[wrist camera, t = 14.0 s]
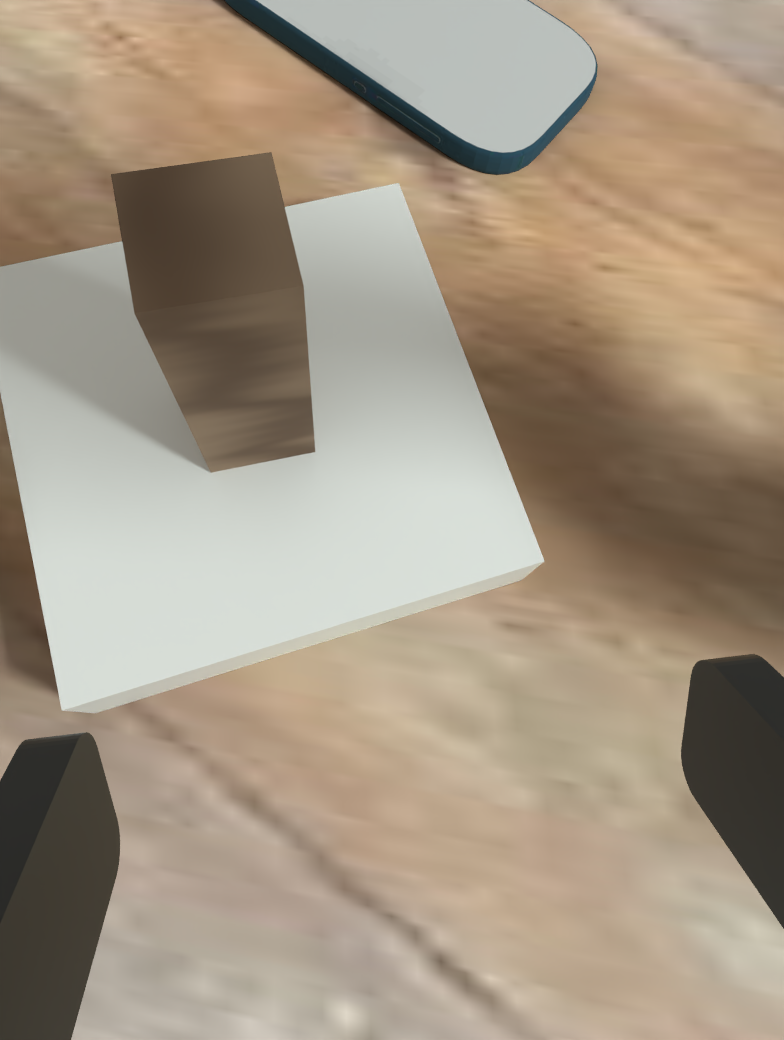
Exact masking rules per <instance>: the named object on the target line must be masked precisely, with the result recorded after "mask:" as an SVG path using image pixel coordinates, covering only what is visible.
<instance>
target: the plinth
mask: <svg viewBox="0 0 784 1040" xmlns="http://www.w3.org/2000/svg"><path fill="white" fill-rule="evenodd" d="M285 211H286V215H287V219H288V223H289V227H290V232H291V236H292V240H293V244H294V248H295V252H296V256H297V260H298V264H299V269H300V273H301V277H302V281H303V285H304V298H305V312H306V327H307V341H308V355H309V369H310V383H311V398H312V412H313V426H314V440H315V452H313V453H308V454H303V455H298V456H293V457H288V458H283V459H278V460H273V461H268V462H262V463H257V464H252V465H247V466H242V467H237V468H232V469H227V470H222V471H217V472H212V473H211V472H210V470H209V468H208V466H207V464H206V462H205V460H204V457H203V455H202V453H201V451H200V449H199V447H198V445H197V443H196V441H195V439H194V437H193V435H192V432H191V430H190V428H189V426H188V424H187V422H186V420H185V418H184V416H183V414H182V412H181V410H180V407H179V405H178V403H177V401H176V399H175V397H174V395H173V393H172V391H171V389H170V387H169V385H168V382H167V380H166V378H165V376H164V374H163V372H162V370H161V368H160V366H159V364H158V362H157V359H156V357H155V355H154V353H153V351H152V349H151V347H150V345H149V343H148V341H147V339H146V337H145V334H144V332H143V330H142V328H141V326H140V324H139V322H138V320H137V318H136V316H135V314H134V308H133V302H132V296H131V290H130V284H129V278H128V272H127V266H126V260H125V254H124V249H123V243H122V241H121V242H116V243H111V244H107V245H102V246H97V247H92V248H88V249H83V250H78V251H73V252H68V253H64V254H59V255H54V256H49V257H45V258H40V259H35V260H30V261H26V262H21V263H16V264H11V265H7V266H2V267H0V394H1V399H2V404H3V409H4V414H5V420H6V425H7V430H8V435H9V440H10V445H11V450H12V456H13V461H14V466H15V471H16V476H17V481H18V487H19V492H20V497H21V502H22V507H23V512H24V518H25V523H26V528H27V533H28V538H29V543H30V548H31V554H32V559H33V564H34V569H35V574H36V579H37V585H38V590H39V595H40V600H41V605H42V610H43V615H44V621H45V626H46V631H47V636H48V641H49V646H50V652H51V657H52V662H53V667H54V672H55V677H56V683H57V688H58V693H59V698H60V703H61V708H62V711H74V712H87V713H98V712H101V711H104V710H108V709H111V708H114V707H117V706H120V705H124V704H127V703H130V702H133V701H136V700H140V699H143V698H146V697H149V696H152V695H156V694H159V693H162V692H165V691H168V690H172V689H175V688H178V687H181V686H184V685H188V684H191V683H194V682H197V681H200V680H204V679H207V678H210V677H213V676H216V675H220V674H223V673H226V672H229V671H232V670H236V669H239V668H242V667H245V666H248V665H252V664H255V663H258V662H261V661H264V660H268V659H271V658H274V657H277V656H281V655H284V654H287V653H290V652H293V651H297V650H300V649H303V648H306V647H309V646H313V645H316V644H319V643H322V642H325V641H329V640H332V639H335V638H338V637H341V636H345V635H348V634H351V633H354V632H357V631H361V630H364V629H367V628H370V627H373V626H377V625H380V624H383V623H386V622H389V621H393V620H396V619H399V618H402V617H405V616H409V615H412V614H415V613H418V612H421V611H425V610H428V609H431V608H434V607H437V606H441V605H444V604H447V603H450V602H453V601H457V600H460V599H463V598H466V597H469V596H473V595H476V594H479V593H482V592H486V591H489V590H492V589H495V588H498V587H502V586H505V585H508V584H511V583H514V582H518V581H521V580H522V579H523V578H525V577H526V576H527V575H528V574H529V573H531V572H532V571H533V570H534V569H536V568H537V567H538V566H539V565H541V564H542V563H543V562H544V559H543V556H542V553H541V551H540V548H539V546H538V543H537V540H536V538H535V535H534V533H533V530H532V527H531V525H530V522H529V520H528V517H527V515H526V512H525V509H524V507H523V504H522V502H521V499H520V496H519V494H518V491H517V489H516V486H515V483H514V481H513V478H512V476H511V473H510V470H509V468H508V465H507V463H506V460H505V457H504V455H503V452H502V450H501V447H500V445H499V442H498V439H497V437H496V434H495V432H494V429H493V426H492V424H491V421H490V419H489V416H488V413H487V411H486V408H485V406H484V403H483V400H482V398H481V395H480V393H479V390H478V387H477V385H476V382H475V380H474V377H473V375H472V372H471V369H470V367H469V364H468V362H467V359H466V356H465V354H464V351H463V349H462V346H461V343H460V341H459V338H458V336H457V333H456V330H455V328H454V325H453V323H452V320H451V317H450V315H449V312H448V310H447V307H446V305H445V302H444V299H443V297H442V294H441V292H440V289H439V286H438V284H437V281H436V279H435V276H434V273H433V271H432V268H431V266H430V263H429V260H428V258H427V255H426V253H425V250H424V247H423V245H422V242H421V240H420V237H419V235H418V232H417V229H416V227H415V224H414V222H413V219H412V216H411V214H410V211H409V209H408V206H407V203H406V201H405V198H404V196H403V193H402V190H401V188H400V185H399V183H396V184H392V185H387V186H382V187H377V188H373V189H368V190H363V191H358V192H354V193H349V194H344V195H339V196H335V197H330V198H325V199H320V200H316V201H311V202H306V203H301V204H297V205H292V206H287V207H285Z"/></svg>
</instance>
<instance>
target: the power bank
mask: <svg viewBox="0 0 784 1040" xmlns="http://www.w3.org/2000/svg"><path fill="white" fill-rule="evenodd" d="M225 1H226V2H227V3H228V4H229V5H230V6H231V7H232V8H233V9H234V10H236V11H237V12H238V13H240V14H241V15H242V16H244V17H245V18H247V19H248V20H249V21H251V22H252V23H254V24H255V25H257V26H258V27H260V28H261V29H263V30H264V31H266V32H267V33H268V34H270V35H271V36H273V37H274V38H276V39H277V40H279V41H280V42H282V43H283V44H285V45H286V46H288V47H289V48H290V49H292V50H293V51H295V52H296V53H298V54H299V55H301V56H302V57H304V58H305V59H307V60H308V61H310V62H311V63H312V64H314V65H315V66H317V67H318V68H320V69H321V70H323V71H324V72H326V73H327V74H329V75H330V76H331V77H333V78H334V79H336V80H337V81H339V82H340V83H342V84H343V85H345V86H346V87H348V88H349V89H351V90H352V91H353V92H355V93H356V94H358V95H359V96H361V97H362V98H364V99H365V100H367V101H368V102H370V103H371V104H373V105H374V106H375V107H377V108H378V109H380V110H381V111H383V112H384V113H386V114H387V115H389V116H390V117H392V118H393V119H394V120H396V121H397V122H399V123H400V124H402V125H403V126H405V127H406V128H408V129H409V130H411V131H412V132H414V133H415V134H416V135H418V136H419V137H421V138H422V139H424V140H425V141H427V142H428V143H430V144H431V145H433V146H434V147H436V148H437V149H438V150H440V151H441V152H443V153H444V154H446V155H447V156H449V157H451V158H452V159H454V160H455V161H457V162H459V163H461V164H463V165H465V166H467V167H469V168H471V169H474V170H477V171H480V172H483V173H488V174H495V175H499V174H509V173H512V172H515V171H518V170H520V169H522V168H523V167H525V166H527V165H528V164H530V163H531V162H532V161H533V160H534V159H535V158H536V157H537V156H538V155H539V154H540V153H541V152H542V151H543V150H544V148H545V147H546V146H547V145H548V144H549V143H550V142H551V141H552V140H553V139H554V138H555V136H556V135H557V134H558V133H559V132H560V131H561V130H562V129H563V128H564V127H565V126H566V124H567V123H568V122H569V121H570V120H571V119H572V118H573V117H574V116H575V115H576V114H577V112H578V111H579V110H580V109H581V108H582V106H583V105H584V104H585V102H586V101H587V99H588V98H589V96H590V93H591V91H592V88H593V86H594V83H595V81H596V77H597V62H596V57H595V55H594V53H593V51H592V49H591V47H590V46H589V45H588V44H587V42H586V41H585V40H584V39H583V38H582V37H581V36H580V35H579V34H578V33H577V32H575V31H574V30H573V29H572V28H570V27H569V26H567V25H566V24H565V23H563V22H562V21H560V20H559V19H557V18H556V17H554V16H552V15H551V14H549V13H548V12H546V11H545V10H543V9H542V8H540V7H538V6H537V5H535V4H534V3H532V2H531V1H529V0H225ZM284 19H285V20H284ZM442 126H443V127H442ZM464 140H465V141H464Z"/></svg>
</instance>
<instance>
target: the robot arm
mask: <svg viewBox="0 0 784 1040" xmlns="http://www.w3.org/2000/svg"><path fill="white" fill-rule="evenodd" d="M681 759H682V766H683V771H684V775H685V778H686V781H687V784H688V786H689V789H690V791H691V793H692V795H693V796H694V798H695V799H696V801H697V802H698V804H699V805H700V807H701V808H702V810H703V811H704V813H705V814H706V816H707V817H708V818H709V820H710V821H711V823H712V824H713V826H714V827H715V829H716V830H717V832H718V833H719V835H720V836H721V838H722V839H723V840H724V842H725V843H726V845H727V846H728V848H729V849H730V851H731V852H732V854H733V855H734V857H735V858H736V860H737V861H738V862H739V864H740V865H741V867H742V868H743V870H744V871H745V873H746V874H747V876H748V877H749V879H750V880H751V881H752V883H753V884H754V886H755V887H756V889H757V890H758V892H759V893H760V895H761V896H762V898H763V899H764V901H765V902H766V903H767V905H768V906H769V908H770V909H771V911H772V912H773V914H774V915H775V917H776V918H777V920H778V921H779V923H780V924H781V925H782V927H783V928H784V677H783V676H782V675H781V674H779V673H778V672H777V671H776V670H775V669H774V668H773V667H772V666H771V665H770V664H769V663H768V662H767V661H766V660H764V659H763V658H762V657H760V656H758V655H755V654H749V655H741V656H733V657H725V658H716V659H708V660H701V661H698V662H697V663H696V664H695V666H694V667H693V670H692V674H691V680H690V687H689V695H688V702H687V710H686V717H685V725H684V732H683V740H682V748H681ZM119 856H120V834H119V826H118V821H117V817H116V813H115V809H114V806H113V802H112V799H111V795H110V791H109V788H108V784H107V781H106V777H105V773H104V770H103V766H102V762H101V759H100V755H99V752H98V748H97V745H96V742H95V740H94V738H93V736H92V735H91V734H90V733H87V732H86V733H78V734H69V735H61V736H53V737H44V738H36V739H28V740H25V741H23V742H22V743H21V744H20V745H19V747H18V749H17V750H16V752H15V754H14V756H13V758H12V760H11V762H10V763H9V765H8V767H7V769H6V771H5V773H4V775H3V777H2V779H1V780H0V1040H71V1037H72V1034H73V1030H74V1027H75V1023H76V1019H77V1016H78V1012H79V1009H80V1005H81V1001H82V998H83V994H84V991H85V987H86V983H87V980H88V976H89V973H90V969H91V965H92V962H93V958H94V955H95V951H96V947H97V944H98V940H99V937H100V933H101V929H102V926H103V922H104V919H105V915H106V911H107V908H108V904H109V901H110V897H111V893H112V890H113V886H114V883H115V879H116V875H117V871H118V865H119Z"/></svg>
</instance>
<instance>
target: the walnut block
mask: <svg viewBox="0 0 784 1040" xmlns="http://www.w3.org/2000/svg"><path fill="white" fill-rule="evenodd" d="M111 177H112V183H113V189H114V195H115V201H116V207H117V213H118V219H119V225H120V231H121V237H122V243H123V249H124V254H125V260H126V266H127V272H128V278H129V284H130V290H131V296H132V302H133V308H134V314H135V316H136V318H137V320H138V322H139V324H140V326H141V328H142V330H143V332H144V334H145V337H146V339H147V341H148V343H149V345H150V347H151V349H152V351H153V353H154V355H155V357H156V359H157V362H158V364H159V366H160V368H161V370H162V372H163V374H164V376H165V378H166V380H167V382H168V385H169V387H170V389H171V391H172V393H173V395H174V397H175V399H176V401H177V403H178V405H179V407H180V410H181V412H182V414H183V416H184V418H185V420H186V422H187V424H188V426H189V428H190V430H191V432H192V435H193V437H194V439H195V441H196V443H197V445H198V447H199V449H200V451H201V453H202V455H203V457H204V460H205V462H206V464H207V466H208V468H209V470H210V472H211V473H212V472H217V471H222V470H227V469H232V468H237V467H242V466H247V465H252V464H257V463H262V462H268V461H273V460H278V459H283V458H288V457H293V456H298V455H303V454H308V453H313V452H315V440H314V426H313V412H312V398H311V383H310V369H309V355H308V341H307V327H306V312H305V298H304V285H303V281H302V277H301V273H300V269H299V264H298V260H297V256H296V252H295V248H294V244H293V240H292V236H291V232H290V227H289V223H288V219H287V215H286V211H285V207H284V203H283V199H282V194H281V190H280V186H279V182H278V178H277V174H276V170H275V166H274V161H273V157H272V153H271V152H270V153H263V154H256V155H248V156H241V157H234V158H227V159H219V160H212V161H205V162H197V163H190V164H183V165H176V166H168V167H161V168H154V169H146V170H139V171H132V172H125V173H117V174H111Z"/></svg>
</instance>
